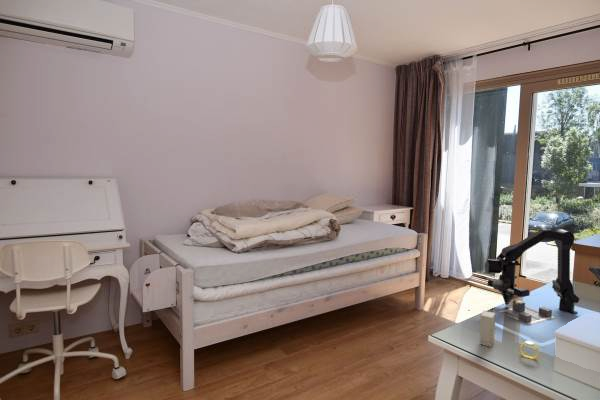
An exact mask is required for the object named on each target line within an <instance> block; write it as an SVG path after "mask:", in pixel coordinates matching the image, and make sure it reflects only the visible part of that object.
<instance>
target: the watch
mask: <svg viewBox="0 0 600 400" xmlns="http://www.w3.org/2000/svg"><path fill="white" fill-rule="evenodd" d="M523 346H530V347H533V348H534V349H535V351H536V352H537V353H536V355H535V356H530V355H526V354H524V352H523V351H522V347H523ZM519 352H520V355H521V356H522V357H524V358H527V359H530V360H536V359H537V358H538V357H539V354H540V351H539V348H538V346H537V345H535V342H533V341H531V340H526V341H525V342H523V343H521V344H520V346H519Z"/></svg>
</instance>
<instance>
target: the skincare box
mask: <svg viewBox="0 0 600 400" xmlns="http://www.w3.org/2000/svg"><path fill="white" fill-rule="evenodd" d="M479 323H480V328H479V345H480V344H483V345H486V346H485V347H487V346H489V347H488V348H492V346H493V345H494V342H495V329H496V327H495V326H496V312H492V311H486V310H483V311H482V312H481V314H480V322H479ZM483 345H482V346H483Z"/></svg>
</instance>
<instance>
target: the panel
mask: <svg viewBox="0 0 600 400" xmlns="http://www.w3.org/2000/svg"><path fill="white" fill-rule="evenodd" d="M512 308H513V307H510V308H506V309H505V308H504V309H502V310H498V311H497V312H498V313H500V314H503V315H505V316H507V317H510V318H511V319H512V318H513V319H515V320H517V321H519V322H522V323H524V324H527V325H530V326H532V325H535V324H539V323H543V322H546V321H550V320H554V319H557V317H556V316H553V315H552V314H553V310H552V309H551V308H548V307H545V306H540V307H538V309H534V308H532V307H529V306H526V305H525V312H520V313H519V312H517V311H514V310H512Z"/></svg>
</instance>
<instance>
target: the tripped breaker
mask: <svg viewBox="0 0 600 400" xmlns="http://www.w3.org/2000/svg"><path fill="white" fill-rule="evenodd" d="M525 306H526V302H525V301H522V300H520V299H515V300H512V307H511V308H512V310H514V311H517V312H519V313H520V312H525Z"/></svg>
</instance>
